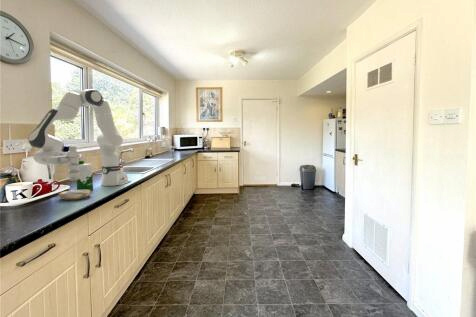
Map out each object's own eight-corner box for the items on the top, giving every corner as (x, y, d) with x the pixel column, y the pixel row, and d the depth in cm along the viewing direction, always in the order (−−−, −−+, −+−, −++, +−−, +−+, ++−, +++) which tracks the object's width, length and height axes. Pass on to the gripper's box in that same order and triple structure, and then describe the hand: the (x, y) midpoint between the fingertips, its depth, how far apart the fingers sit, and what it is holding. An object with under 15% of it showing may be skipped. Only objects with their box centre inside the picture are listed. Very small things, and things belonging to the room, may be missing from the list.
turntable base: (76, 195, 159) (76, 192, 159) (91, 196, 156) (91, 194, 156) (58, 199, 148) (58, 197, 148) (73, 201, 144) (73, 198, 144)
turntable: (77, 191, 162) (77, 188, 162) (96, 193, 157) (96, 190, 157) (52, 197, 147) (52, 194, 146) (73, 200, 142) (72, 196, 142)
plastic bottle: (74, 181, 147) (73, 147, 145) (64, 180, 149) (63, 146, 146) (82, 179, 154) (82, 146, 151) (73, 178, 155) (72, 146, 153)
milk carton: (82, 188, 177) (81, 160, 175) (95, 188, 177) (94, 160, 175) (74, 191, 169) (72, 161, 167) (87, 191, 168) (86, 161, 167)
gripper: (38, 154, 143) (56, 155, 139) (72, 151, 163) (88, 152, 159) (39, 165, 144) (57, 166, 140) (72, 161, 163) (89, 162, 159)
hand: (74, 159), depth 149 cm, fingers closed on plastic bottle, 6 cm apart
